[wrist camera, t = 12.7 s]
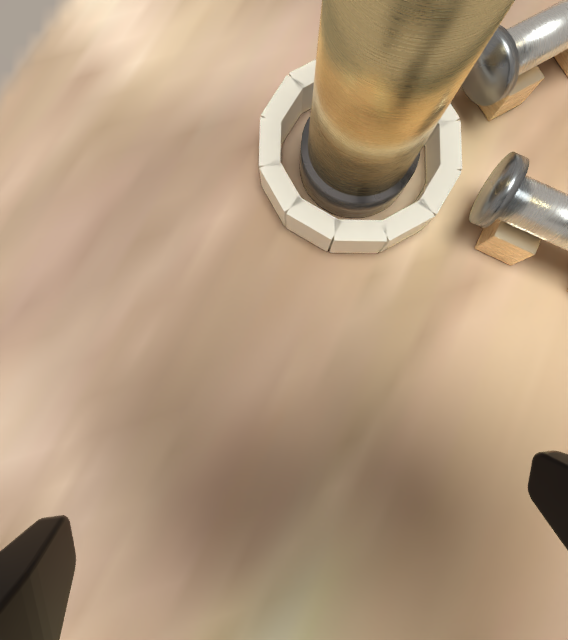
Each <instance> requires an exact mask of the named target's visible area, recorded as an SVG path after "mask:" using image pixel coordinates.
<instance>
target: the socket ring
mask: <svg viewBox="0 0 568 640" xmlns="http://www.w3.org/2000/svg"><path fill="white" fill-rule="evenodd" d="M315 66H316V59H315V60H313V61H311V62H309V63H307V64H306V65H304V66H302V67H300V68H298V69H296V70H294V71H292V72H290V73H289V76H288V75H287V76H286V77H285V79H284V80H283V82H282V83H281V85H280V86H279V88H278V89H277V91H276V93H275V94H274V96H273V97H272V99H271V100H270V102H269V103H268V105H267V106H266V108H265V109H264V111H263V113H262V114H261V118H260V142H259V171H260V178H261V184H262V188H263V190H264V191H265V193H266V195H267V197H268V198H269V200H270V202H271V204H272V205H273V207H274V209H275V211H276V212H277V214H278V216H279V218H280V219H281V221H282V223H283V225H284V226H286V228H287V229H288V230H290V231H292V232H294V233H295V234H297V235H299V236H300V237H302V238H304V239H306V240H307V241H309V242H311V243H312V244H314V245H316V246H318V247H319V248H321V249H323V250H324V251H326V252H327V251H328V249H329V248H330V253H378V252H379V253H380V252H382V251H384V250H386V249H388V248H389V247H391V246H393V245H395V244H397V243H399V242H400V241H402V240H404V239H406V238H408V237H410V236H411V235H413V234H415V233H417V232H419V231H420V230H421V229H423V228H424V227H425V226H426V225H427V224H428V223H429V221H430V220H431V219H432V218H433V217H434V216H435V215H436V214H437V213H438V211H439V209H440V208H441V206H442V204H443V203H444V201H445V199H446V197H447V196H448V194H449V192H450V191H451V189H452V187H453V185H454V184H455V182H456V180H457V179H458V177H459V175H460V173H461V170H462V148H461V121H458V120H459V119H460V118H459V116H458V114H457V113H456V111H455V110H454V108H453V107H452V105H451V104H449V106H448V107H447V109H446V111H445V112H444V114H443V115H442V117H441V119H440V120H439V122H438V123H437V125H436V126H435V128H434V130H433V131H432V133H431V134H430V136H429V138H428V139H427V141H426V142H425V144H424V146H425V160H426V185H425V186H424V188H423V190H422V191H421V193H420V195H419V196H418V198H417V200H416V201H415V203H413V204H411V205H410V206H408V207H406V208H404V209H402V210H400V211H399V212H397V213H395V214H393V215H391V216H389V217H387V218H386V219H384V220H339V219H337V218H335V217H333V216H332V215H330V214H328V213H326V212H325V211H323V210H321V209H319V208H318V207H316V206H314V205H313V204H311V203H309V202H307V201H306V200H304V199H302V198H301V197H300V195H299V193H298V192H297V190H296V188H295V186H294V185H293V183H292V181H291V180H290V178H289V176H288V174H287V173H286V171H285V169H284V168H283V166H282V164H281V147H282V143H283V141H284V140H285V138H286V137H287V135H288V134H289V132H290V130H291V129H292V127H293V126H294V124H295V123H296V121H297V120H298V118H299V116H300V115H301V114H302V113H303V112H305V111H307V110H309V109H311V105H312V95H313V85H314V76H315Z"/></svg>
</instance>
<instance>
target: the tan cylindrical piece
mask: <svg viewBox="0 0 568 640" xmlns="http://www.w3.org/2000/svg"><path fill="white" fill-rule="evenodd" d="M514 1H515V0H322V7H321V17H320V27H319V36H318V46H317V56H316V66H315V76H314V85H313V95H312V105H311V115H310V117H309V119H308V120H307V123H306V125H305V127H304V131H303V134H302V141H301V154H300V174H301V179H302V182H303V185H304V187H305V189H306V191H307V192H308V194H309V195H310V197H311V198H312V199H313V200H314V201H315V202H316V203H317V204H318V205H319V206H320V207H322V208H323V209H325V210H326V211H328V212H330V213H332V214H335V215H338V216H341V217H347V218H363V217H368V216H372V215H374V214H377V213H379V212H381V211H383V210H384V209H386V208H387V207H389V206H390V205H391V204H392V203H393V202H394V201H395V200H396V199H397V197H398V196H399V195H400V193H401V192H402V190H403V189H404V187H405V186H406V184H407V183H408V181H409V180H410V178H411V177H412V175H413V173H414V172H415V169H416V167H417V164H418V161H419V156H420V150H421V149H422V147H423V146H424V144H425V142H426V141H427V139H428V138H429V136H430V134H431V133H432V131H433V130H434V128H435V126H436V125H437V123H438V122H439V120H440V119H441V117H442V115H443V114H444V112H445V111H446V109H447V107H448V106H449V104H450V103H451V101H452V99H453V98H454V96H455V95H456V93H457V92H458V90H459V88H460V87H461V85H462V84H463V82H464V80H465V79H466V77H467V76H468V74H469V72H470V71H471V69H472V68H473V66H474V64H475V63H476V61H477V60H478V58H479V57H480V55H481V53H482V52H483V50H484V49H485V47H486V45H487V44H488V42H489V41H490V39H491V37H492V36H493V34H494V33H495V31H496V30H497V28H498V26H499V25H500V23H501V22H502V20H503V18H504V17H505V15H506V14H507V12H508V10H509V9H510V7H511V6H512V4H513V3H514Z"/></svg>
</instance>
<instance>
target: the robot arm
mask: <svg viewBox="0 0 568 640" xmlns="http://www.w3.org/2000/svg"><path fill="white" fill-rule="evenodd" d="M528 492H529V495H530V497H531V499H532V501H533V502H534V504H535V505H536V506H537V508H538V509H539V511H540V512H541V513H542V515H543V516H544V518H545V519H546V520H547V522H548V523H549V525H550V526H551V527H552V529H553V530H554V532H555V533H556V534H557V536H558V537H559V539H560V540H561V541H562V543H563V544H564V546H565V547H566V548H567V550H568V454H565V453H562V452H559V451H547V452H539V453H537V454H535V456H534V457H533V460H532V465H531V471H530V476H529V482H528ZM75 565H76V554H75V548H74V542H73V537H72V531H71V526H70V521H69V519H68V517H66V516H64V515H61V516H54V517H46V518H41V519H39V520H38V521H36V522H35V523H34V524H33V525H31V526H30V527H29V528H28V529H27V530H25V531H24V532H23V533H22V534H21V535H19V536H18V537H17V538H16V539H15V540H13V541H12V542H11V543H10V544H9V545H7V546H6V547H5V548H4V549H2V550H1V551H0V640H59V639H60V635H61V630H62V626H63V621H64V617H65V612H66V608H67V603H68V598H69V594H70V589H71V585H72V580H73V576H74V571H75Z"/></svg>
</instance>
